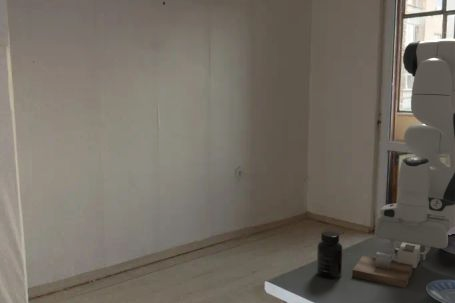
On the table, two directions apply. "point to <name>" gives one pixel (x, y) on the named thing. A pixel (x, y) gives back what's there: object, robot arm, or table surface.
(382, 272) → the board
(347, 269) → the table surface
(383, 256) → the tall grey block
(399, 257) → the open rectangular brace
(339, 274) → the supplement bottle
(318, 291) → the table surface
